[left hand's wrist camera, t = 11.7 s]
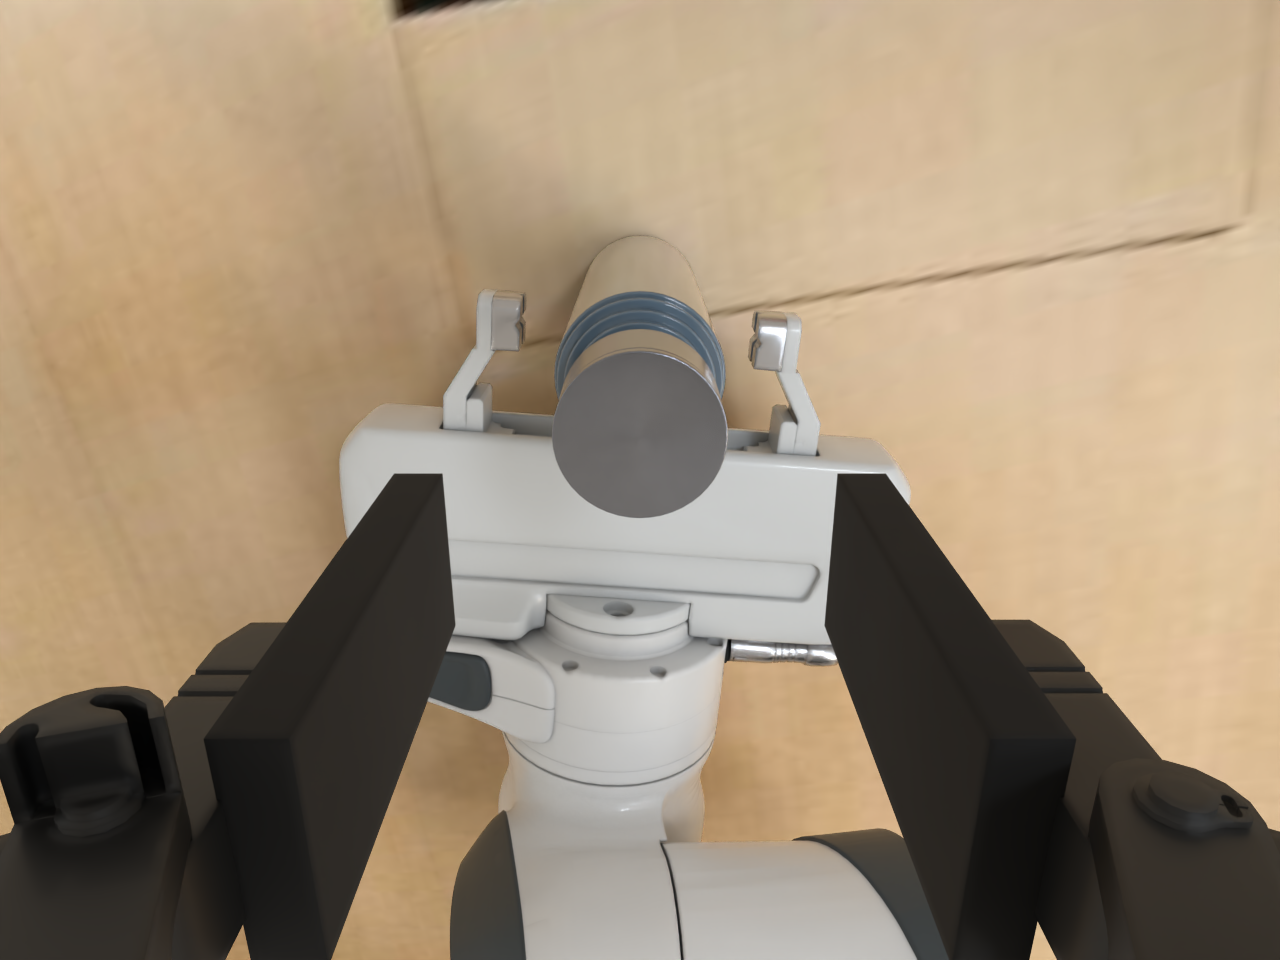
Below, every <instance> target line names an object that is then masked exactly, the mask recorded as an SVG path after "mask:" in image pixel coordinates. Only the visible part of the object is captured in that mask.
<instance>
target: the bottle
mask: <svg viewBox="0 0 1280 960" xmlns="http://www.w3.org/2000/svg"><path fill="white" fill-rule="evenodd" d="M633 329H647V330H655V331H660V332H663V333H666V334H669V335H672V336H674V337H676V338H678V339H680V340H682V341H683V342H685V343H686V344H688V345H689V346H691V347H692V348H693V349H694V350H695V351H696V352H697V353H698V354H699V355H700V356H701V357H702V358H703V359H704V361H705V362H706V364H707V365H708V367H709V368H710V370H711V372H712V374H713V376H714V378H715V381H716V384H717V387H718V391H719V394H720V397H721V400H722V396H723V392H724V388H725V378H726V375H725V362H724V356H723V353H722V349H721V346H720V343H719V341H718V338H717V335H716V333H715V330H714V327H713V325H712V322H711V319H710V317H709V314H708V311H707V309H706V306H705V303H704V301H703V298H702V295H701V293H700V290H699V287H698V285H697V282H696V279H695V277H694V274H693V271H692V269H691V267H690V265H689V263H688V262H687V260H686V259H685V257H684V256H683V255H682V254H681V253H680V252H679V251H678V250H677V249H676V248H675V247H673V246H672V245H670V244H669V243H667V242H665V241H663V240H661V239H658V238H655V237H650V236H641V235H639V236H630V237H625V238H622V239H619V240H617V241H615V242H613V243H611V244H610V245H608V246H607V247H605V248H604V249H603V250H602V251H601V252H600V253H599V254H598V255H597V256H596V257H595V259H594V260H593V262H592V263H591V265H590V267H589V269H588V271H587V274H586V277H585V279H584V282H583V285H582V287H581V290H580V293H579V295H578V298H577V300H576V303H575V306H574V308H573V311H572V314H571V316H570V319H569V322H568V324H567V327H566V330H565V332H564V335H563V338H562V340H561V343H560V346H559V349H558V352H557V356H556V362H555V373H554V378H555V388H556V392H557V396H558V400H559V397H560V394H561V391H562V387H563V384H564V381H565V378H566V376H567V374H568V372H569V370H570V368H571V367H572V365H573V364H574V362H575V360H576V359H577V358H578V357H579V356H580V355H581V354H582V353H583V352H584V351H585V350H586V349H587V348H588V347H589V346H591V345H592V344H594V343H595V342H597V341H598V340H600V339H602V338H604V337H606V336H608V335H611V334H614V333H617V332H620V331H625V330H633Z"/></svg>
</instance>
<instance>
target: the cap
mask: <svg viewBox="0 0 1280 960" xmlns="http://www.w3.org/2000/svg"><path fill="white" fill-rule="evenodd" d="M552 444H553V450H554V455H555V459H556V461H557V464H558V466H559V469H560V471H561V472H562V474H563V476H564V478H565V479H566V481H567V482H568V483H569V485H570V486H571V487H572V488H573V489H574V490H575V491H576V492H577V493H578V494H579V495H580V496H581V497H582V498H583V499H585V500H586V501H587V502H589V503H590V504H592V505H594V506H595V507H597V508H599V509H601V510H604V511H606V512H608V513H612V514H615V515H618V516H623V517H629V518H651V517H657V516H662V515H665V514H668V513H672V512H674V511H676V510H679V509H681V508H683V507H685V506H686V505H688V504H690V503H691V502H693V501H694V500H695V499H696V498H698V497H699V496H700V495H701V494H702V493H703V492H704V491H705V490H706V489H707V488H708V487H709V486H710V484H711V483H712V482H713V480H714V479H715V478H716V476H717V474H718V472H719V470H720V469H721V466H722V464H723V461H724V458H725V454H726V450H727V444H728V424H727V418H726V414H725V411H724V407H723V404H722V401H721V397H720V394H719V391H718V387H717V384H716V381H715V378H714V376H713V374H712V372H711V370H710V368H709V367H708V365H707V364H706V362H705V361H704V359H703V358H702V357H701V356H700V355H699V354H698V353H697V352H696V351H695V350H694V349H693V348H692V347H691V346H689V345H688V344H686V343H685V342H683V341H682V340H680V339H678V338H676V337H674V336H672V335H669V334H666V333H663V332H660V331H655V330H647V329H633V330H625V331H620V332H617V333H614V334H611V335H608V336H606V337H604V338H602V339H600V340H598V341H597V342H595V343H594V344H592V345H591V346H589V347H588V348H587V349H586V350H585V351H584V352H583V353H582V354H581V355H580V356H579V357H578V358H577V359H576V360H575V362H574V364H573V365H572V367H571V368H570V370H569V372H568V374H567V376H566V378H565V381H564V384H563V387H562V391H561V394H560V397H559V400H558V404H557V407H556V410H555V414H554V418H553V424H552Z"/></svg>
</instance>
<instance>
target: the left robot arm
mask: <svg viewBox="0 0 1280 960" xmlns="http://www.w3.org/2000/svg"><path fill="white" fill-rule="evenodd" d="M455 626H456V624H455V613H454V601H453V590H452V578H451V566H450V555H449V543H448V531H447V520H446V508H445V496H444V485H443V473H394V474H393V476H392V477H391V479H390V480H389V481H388V483H387V484H386V486H385V487H384V488H383V490H382V491H381V492H380V494H379V495H378V497H377V498H376V499H375V501H374V502H373V504H372V505H371V506H370V508H369V509H368V511H367V512H366V513H365V515H364V516H363V518H362V519H361V520H360V522H359V523H358V524H357V526H356V527H355V529H354V530H353V531H352V533H351V534H350V536H349V537H348V538H347V540H346V541H345V543H344V544H343V545H342V547H341V548H340V550H339V551H338V552H337V554H336V555H335V556H334V558H333V559H332V561H331V562H330V563H329V565H328V566H327V568H326V569H325V570H324V572H323V573H322V575H321V576H320V577H319V579H318V580H317V582H316V583H315V584H314V586H313V587H312V588H311V590H310V591H309V593H308V594H307V595H306V597H305V598H304V600H303V601H302V602H301V604H300V605H299V607H298V608H297V609H296V611H295V612H294V614H293V615H292V616H291V618H290V619H289V621H288V622H287V623H250V624H248V625H247V626H245V627H243V628H242V629H240V630H239V631H237V632H236V633H234V634H232V635H231V636H229V637H228V638H226V639H225V640H223V641H221V642H220V643H218V644H217V645H216V646H215V647H214V648H213V650H212V651H211V652H210V653H209V654H208V656H207V657H206V658H205V659H204V660H203V662H202V663H201V664H200V665H199V667H198V668H197V669H196V674H195V675H191V676H190V677H189V679H188V680H187V681H186V682H185V684H184V685H183V686H182V687H181V688H180V690H179V691H178V697H173V698H172V699H171V700H170V702H169V703H168V704H167V705H166V707H165V708H164V705H163V701H162V700H161V699H160V698H158V697H157V696H156V695H154V694H153V693H152V692H150V691H149V690H144V689H139V688H134V687H128V686H120V687H104V688H94V689H90V690H86V691H82V692H78V693H74V694H70V695H66V696H63V697H61V698H58V699H56V700H53V701H51V702H49V703H46V704H44V705H42V706H39V707H37V708H35V709H32V710H31V711H29V712H28V713H26V714H25V715H23V716H22V717H20V718H19V719H17V720H16V721H14V722H13V723H11V724H9V725H8V726H6V727H5V729H4V730H3V731H2V732H1V733H0V780H1V783H2V786H3V789H4V793H5V796H6V799H7V802H8V805H9V808H10V811H11V814H12V818H13V821H14V826H13V829H12V831H11V833H8V834H5V835H1V836H0V960H225V959H226V957H227V955H228V953H229V951H230V949H231V947H232V945H233V943H234V941H235V939H236V937H237V935H238V933H239V931H240V929H241V927H242V925H243V926H244V930H245V935H246V940H247V944H248V949H249V954H250V958H251V960H331V958H332V955H333V953H334V950H335V947H336V945H337V942H338V939H339V937H340V934H341V931H342V929H343V926H344V923H345V921H346V918H347V915H348V913H349V910H350V907H351V905H352V902H353V899H354V896H355V894H356V891H357V888H358V886H359V883H360V880H361V878H362V875H363V872H364V870H365V867H366V864H367V862H368V859H369V856H370V854H371V851H372V848H373V846H374V843H375V840H376V838H377V835H378V832H379V829H380V827H381V824H382V821H383V819H384V816H385V813H386V811H387V808H388V805H389V803H390V800H391V797H392V795H393V792H394V789H395V787H396V784H397V781H398V779H399V776H400V773H401V771H402V768H403V765H404V762H405V760H406V757H407V754H408V752H409V749H410V746H411V744H412V741H413V738H414V736H415V733H416V730H417V728H418V725H419V722H420V720H421V717H422V714H423V712H424V709H425V706H426V703H427V701H428V698H429V695H430V693H431V690H432V687H433V685H434V682H435V679H436V677H437V674H438V671H439V669H440V666H441V663H442V661H443V658H444V655H445V653H446V650H447V647H448V645H449V642H450V639H451V636H452V634H453V631H454V628H455ZM824 626H825V628H826V631H827V634H828V636H829V639H830V642H831V645H832V647H833V650H834V653H835V655H836V658H837V661H838V663H839V666H840V669H841V671H842V674H843V677H844V679H845V682H846V685H847V687H848V690H849V693H850V695H851V698H852V701H853V704H854V706H855V709H856V712H857V714H858V717H859V720H860V722H861V725H862V728H863V730H864V733H865V736H866V738H867V741H868V744H869V746H870V749H871V752H872V754H873V757H874V760H875V762H876V765H877V768H878V771H879V773H880V776H881V779H882V781H883V784H884V787H885V789H886V792H887V795H888V797H889V800H890V803H891V805H892V808H893V811H894V813H895V816H896V819H897V821H898V824H899V827H900V829H901V832H902V835H903V838H904V840H905V843H906V846H907V848H908V851H909V854H910V856H911V859H912V862H913V864H914V867H915V870H916V872H917V875H918V878H919V880H920V883H921V886H922V888H923V891H924V894H925V896H926V899H927V902H928V905H929V907H930V910H931V913H932V915H933V918H934V921H935V923H936V926H937V929H938V931H939V934H940V937H941V939H942V942H943V945H944V947H945V950H946V953H947V955H948V958H949V960H1029V958H1030V954H1031V949H1032V944H1033V940H1034V935H1035V930H1036V926H1037V921H1038V923H1039V925H1040V927H1041V929H1042V931H1043V933H1044V935H1045V937H1046V939H1047V941H1048V943H1049V945H1050V947H1051V949H1052V951H1053V953H1054V955H1055V957H1056V959H1057V960H1280V832H1279V831H1275V830H1272V829H1268V827H1267V825H1266V823H1265V821H1264V820H1263V819H1262V817H1261V816H1260V815H1259V813H1258V812H1257V811H1256V809H1255V808H1254V806H1253V805H1252V804H1251V802H1249V801H1248V800H1247V799H1245V798H1244V797H1243V796H1241V795H1240V794H1239V793H1237V792H1236V791H1235V790H1234V789H1232V788H1231V787H1230V786H1228V785H1227V784H1226V783H1224V782H1221V781H1219V780H1217V779H1215V778H1213V777H1211V776H1209V775H1207V774H1205V773H1203V772H1201V771H1199V770H1197V769H1194V768H1190V767H1187V766H1183V765H1180V764H1176V763H1173V762H1169V761H1166V760H1162V759H1161V758H1160V757H1159V755H1158V754H1157V753H1156V752H1155V751H1154V749H1153V748H1152V747H1151V746H1150V745H1149V743H1148V742H1147V741H1146V740H1145V739H1144V737H1143V736H1142V735H1141V734H1140V733H1139V731H1138V730H1137V729H1136V728H1135V727H1134V725H1133V724H1132V723H1131V722H1130V721H1129V719H1128V718H1127V717H1126V716H1125V714H1124V713H1123V712H1122V711H1121V710H1120V708H1119V707H1118V706H1117V705H1116V704H1115V702H1114V701H1113V700H1112V699H1111V698H1110V696H1109V695H1108V694H1107V693H1103V691H1102V687H1101V686H1100V684H1099V683H1098V682H1097V681H1096V680H1095V678H1094V677H1093V676H1092V675H1091V674H1090V672H1085V666H1084V665H1083V664H1082V663H1081V662H1080V660H1079V659H1078V658H1077V657H1076V656H1075V654H1074V653H1073V652H1072V651H1071V649H1070V648H1069V647H1068V646H1067V645H1066V643H1065V642H1064V641H1062V640H1061V639H1059V638H1058V637H1056V636H1054V635H1053V634H1051V633H1050V632H1048V631H1046V630H1045V629H1043V628H1042V627H1040V626H1039V625H1037V624H1035V623H1034V622H1032V621H1031V620H991V619H990V618H989V616H988V615H987V614H986V612H985V611H984V609H983V608H982V607H981V605H980V604H979V602H978V601H977V600H976V598H975V597H974V595H973V594H972V593H971V591H970V590H969V588H968V587H967V586H966V584H965V583H964V582H963V580H962V579H961V577H960V576H959V575H958V573H957V572H956V570H955V569H954V568H953V566H952V565H951V563H950V562H949V561H948V559H947V558H946V556H945V555H944V554H943V552H942V551H941V550H940V548H939V547H938V545H937V544H936V543H935V541H934V540H933V538H932V537H931V536H930V534H929V533H928V531H927V530H926V529H925V527H924V526H923V524H922V523H921V522H920V520H919V519H918V518H917V516H916V515H915V513H914V512H913V511H912V509H911V508H910V506H909V505H908V504H907V502H906V501H905V499H904V498H903V497H902V495H901V494H900V492H899V491H898V490H897V488H896V487H895V486H894V484H893V483H892V481H891V480H890V479H889V477H888V476H887V474H886V473H837V485H836V496H835V508H834V520H833V531H832V543H831V555H830V566H829V578H828V590H827V601H826V613H825V624H824Z"/></svg>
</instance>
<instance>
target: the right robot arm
mask: <svg viewBox="0 0 1280 960" xmlns="http://www.w3.org/2000/svg"><path fill="white" fill-rule="evenodd" d="M525 310H526V293H524V292H514V291H503V290H493V289H483V290H482V291H481V292H480V293H479V296H478V302H477V324H476V345H475V346H474V347H473V349H472V350H471V352H470V354H469V355H468V357H467V358H466V360H465V362H464V363H463V365H462V366H461V368H460V370H459V371H458V373H457V374H456V376H455V378H454V379H453V381H452V382H451V384H450V386H449V387H448V389H447V390H446V392H445V394H444V395H443V407H437V406H423V405H409V404H397V403H385V404H381V405H379V406H377V407H376V408H375V409H374V410H372V411H371V412H370V413H369V414H368V415H367V416H366V417H364V418H363V419H362V420H361V421H360V422H359V423H358V424H357V425H356V426H355V427H354V429H353V430H352V431H351V433H350V434H349V435H348V436H347V438H346V439H345V441H344V443H343V445H342V448H341V451H340V458H339V475H340V490H341V500H342V509H343V517H344V524H345V530H346V536H347V538H348V537H349V536H350V534H351V533H352V531H353V530H354V529H355V527H356V526H357V524H358V523H359V522H360V520H361V519H362V518H363V516H364V515H365V513H366V512H367V511H368V509H369V508H370V506H371V505H372V504H373V502H374V501H375V499H376V498H377V497H378V495H379V494H380V492H381V491H382V490H383V488H384V487H385V486H386V484H387V483H388V481H389V480H390V479H391V477H392V476H393V474H394V473H443V485H444V496H445V508H446V520H447V531H448V543H449V555H450V566H451V578H452V590H453V601H454V613H455V624H456V626H455V628H454V631H453V634H452V636H451V639H450V642H449V645H448V647H447V650H446V653H445V655H444V658H443V661H442V663H441V666H440V669H439V671H438V674H437V677H436V679H435V682H434V685H433V687H432V690H431V693H430V695H429V698H428V701H427V702H430V703H433V704H436V705H439V706H442V707H445V708H448V709H450V710H453V711H456V712H459V713H461V714H464V715H466V716H469V717H472V718H474V719H477V720H479V721H481V722H484V723H486V724H488V725H491V726H493V727H495V728H497V729H499V730H501V731H502V734H503V737H504V741H505V744H506V747H507V751H508V754H509V765H508V768H507V771H506V773H505V776H504V778H503V781H502V785H501V789H500V793H499V801H498V815H497V816H496V817H495V818H494V819H493V820H492V821H491V822H490V823H489V824H488V826H487V827H486V828H485V829H484V831H483V832H482V833H481V835H480V836H479V838H478V839H477V840H476V842H475V843H474V845H473V846H472V847H471V849H470V850H469V852H468V853H467V855H466V856H465V858H464V859H463V860H462V862H461V864H460V867H459V870H458V873H457V877H456V881H455V886H454V891H453V897H452V906H451V919H450V958H451V960H949V958H948V955H947V953H946V950H945V947H944V945H943V942H942V939H941V937H940V934H939V931H938V929H937V926H936V923H935V921H934V918H933V915H932V913H931V910H930V907H929V905H928V902H927V899H926V896H925V894H924V891H923V888H922V886H921V883H920V880H919V878H918V875H917V872H916V870H915V867H914V864H913V862H912V859H911V856H910V854H909V851H908V848H907V846H906V843H905V840H904V838H902V837H901V836H899V835H898V834H896V833H894V832H892V831H889V830H886V829H869V830H860V831H852V832H843V833H834V834H825V835H815V836H804V837H800V838H796V839H793V840H792V841H740V842H701V839H702V832H703V825H704V816H705V801H704V794H703V789H702V785H701V780H700V775H701V770H702V768H703V766H704V764H705V763H706V760H707V758H708V756H709V754H710V752H711V750H712V746H713V742H714V738H715V734H716V726H717V719H718V711H719V703H720V695H721V688H722V679H723V671H724V663H726V662H727V661H738V662H753V663H772V662H773V663H778V662H794V663H803V664H804V665H807V666H814V667H826V666H834V665H837V664H838V661H837V658H836V655H835V653H834V650H833V647H832V645H831V642H830V639H829V636H828V634H827V631H826V628H825V626H824V624H825V613H826V601H827V590H828V578H829V566H830V555H831V543H832V531H833V520H834V508H835V496H836V485H837V473H886V474H887V476H888V477H889V479H890V480H891V481H892V483H893V484H894V486H895V487H896V488H897V490H898V491H899V492H900V494H901V495H902V497H903V498H904V499H905V501H906V502H907V504H908V505H909V504H910V498H911V490H910V485H909V482H908V480H907V478H906V476H905V474H904V473H903V471H902V469H901V468H900V466H899V465H898V463H897V462H896V460H895V459H894V458H893V457H892V456H891V455H890V453H889V452H888V451H887V450H886V449H885V448H884V447H883V446H882V445H881V444H880V443H879V442H878V441H876V440H874V439H870V438H859V437H845V436H831V435H819V431H820V421H819V419H818V417H817V414H816V412H815V410H814V407H813V405H812V402H811V400H810V398H809V395H808V393H807V391H806V388H805V386H804V383H803V381H802V379H801V376H800V374H799V372H798V371H797V369H796V367H797V360H798V353H799V346H800V339H801V332H802V325H801V318H800V317H799V316H798V315H797V314H796V313H789V312H776V311H759V310H755V312H754V314H753V320H752V328H753V330H754V332H755V334H754V335H753V336H752V337H751V339H750V344H749V353H748V358H749V360H750V361H751V362H752V366H753V368H754V369H759V370H770V371H775V373H776V375H777V378H778V380H779V382H780V385H781V387H782V389H783V392H784V394H785V397H786V399H787V401H788V404H789V407H788V408H787V407H786V405H775V406H774V407H773V408H772V415H771V422H770V428H769V431H764V430H750V429H736V428H728V444H727V450H726V454H725V458H724V461H723V464H722V466H721V469H720V470H719V472H718V474H717V476H716V478H715V479H714V480H713V482H712V483H711V484H710V486H709V487H708V488H707V489H706V490H705V491H704V492H703V493H702V494H701V495H700V496H699V497H698V498H696V499H695V500H694V501H693V502H691V503H690V504H688V505H686V506H685V507H683V508H681V509H679V510H676V511H674V512H672V513H668V514H665V515H662V516H657V517H651V518H629V517H623V516H618V515H615V514H612V513H608V512H606V511H604V510H601V509H599V508H597V507H595V506H594V505H592V504H590V503H589V502H587V501H586V500H585V499H583V498H582V497H581V496H580V495H579V494H578V493H577V492H576V491H575V490H574V489H573V488H572V487H571V486H570V485H569V483H568V482H567V481H566V479H565V478H564V476H563V474H562V472H561V471H560V469H559V466H558V464H557V461H556V459H555V455H554V450H553V444H552V424H553V418H554V415H546V414H532V413H519V412H505V411H492V386H491V385H490V383H479V384H478V385H476V381H477V380H478V378H479V376H480V375H481V373H482V372H483V370H484V369H485V367H486V365H487V364H488V362H489V361H490V359H491V357H492V356H493V354H494V353H495V351H496V350H505V351H519V350H520V348H521V344H523V343H524V341H525V327H526V322H525V320H524V318H523V317H522V315H523V313H524V312H525Z"/></svg>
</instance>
